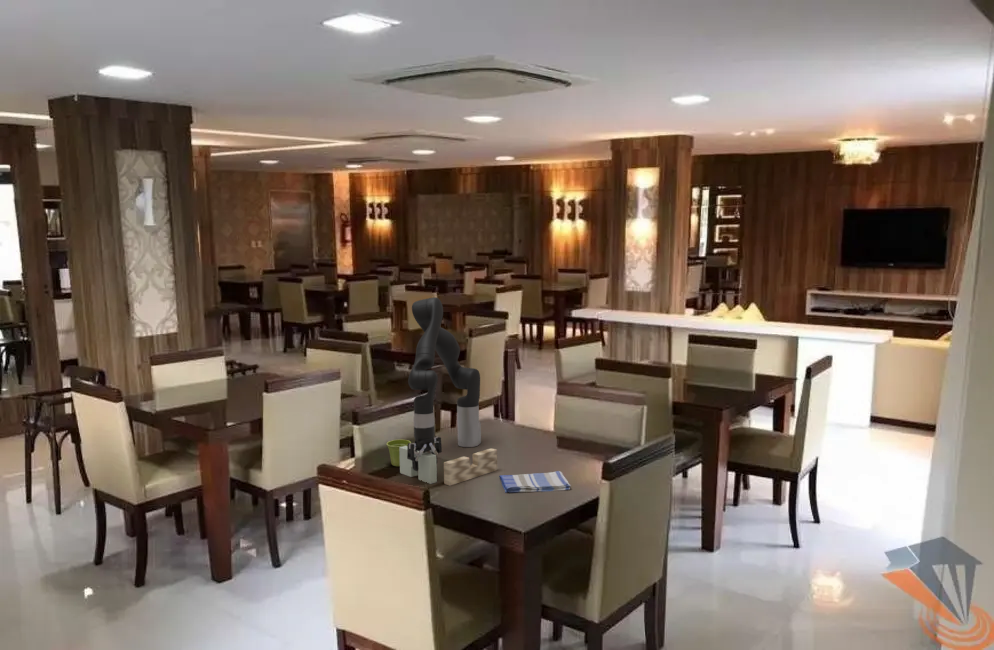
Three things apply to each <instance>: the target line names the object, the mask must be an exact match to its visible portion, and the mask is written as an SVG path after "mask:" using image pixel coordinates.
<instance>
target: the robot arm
mask: <svg viewBox="0 0 994 650" xmlns="http://www.w3.org/2000/svg"><path fill="white" fill-rule="evenodd" d="M411 312H412V316H413V318H414V320H415V321H416V323H417V324H418V326H419V327H420V328H421V329H422V331H423V332H424V333H422V335H421V337H420V338H419V340H418V342H417V345H416V349H415V350H416V352H415V358H414V363H413V366H412V368H411V371H410V372H409V374H408V379H407V383H408V386H409V388H410V389H411V390H415V391H419V390H420V391H423V390H424V391H426V390H427V393H425V394H422V395H418V396H415V397H414V399H413V438H414V442H411V443H408V447H407V459H409V460H412V468H413V470H415V471H418V470H419V468H418V459H419V457H420V456H421V455H422V453H425V452H427V453H431V454H434V455H436V465H438V455H439V454H441V453H442V452H443V451H442V450H443V449H442V448H443V447H442V438H441V437H440V436H436V435H435V434H436V433H435V431H436V430H435V413H434V399H435V393H436V389H437V386H438V381H439V377H438V374H437V372H436V371H435V370H431V368H433V367H434V365H435V359H436V358H435V356H436V354H437V355H438V356H439V358H440V359H441V362H442V363H443V365H444V367H445V368H446V370H447V373H448V376H449V378H450V380H451V383H452V384H453V386H454V387H455V388H456V389H460V390H466V391H467V392H466V395H463V396H461V397H459V398H457V401H456V413H457V415H456V417H457V446H459V447H463V448H473V447H477V446H479V445H480V444H482V430H481V429H482V428H481V427H482V424H481V421H480V411H479V410H480V409H479V408H480V407H479V403H480V396H481V392H480V391H481V374H480V371H479V370H478V368H472V367H463V366H461V365H460V363H459V361H458V359H459V356H460V352H461V347H460V344H459V342H458V341H457V339H456V337H455V336H454V334H453V333H452V332H450V331H449V330H447V329H445V328H443V327H441V326H442V321H443V315H444V306H443V303H442V301H441V299H440V298H438V297H429V298H422V299H419V300H416V301H414V302H413V303H412V305H411ZM414 449H415V450H414ZM417 451H419V452H417Z"/></svg>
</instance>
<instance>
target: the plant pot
mask: <svg viewBox="0 0 994 650" xmlns="http://www.w3.org/2000/svg"><path fill="white" fill-rule="evenodd" d="M408 443H412V441H410V440H409V439H408V440H407V439H393V440H389V441H387V442H386V446H387V449H388V451H389V457H390V463H391V465H392V466H394V467H400V452H399V447H403V446H408Z"/></svg>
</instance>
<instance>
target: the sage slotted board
mask: <svg viewBox="0 0 994 650" xmlns="http://www.w3.org/2000/svg"><path fill="white" fill-rule="evenodd" d="M407 447H408V446H403V447H399V452H400V466H399V473H400V474H402V475H405V476H407V477H410V478H413V477H417V476H418V481H421V480H422V482H424V483H426V482H427V484H429V485H431V484H435V483H437V482H438V481H437V480H438V478H437V477H438V474H437V473H438V471H437V467H438V466H437V465H438V464H437V465H436V455H434V454H431V452H425V453H422V455H421V456H420V457H419V459H418V468H419V470H418V471H415V470H413V468H412V460H409V459H407ZM414 450H415V449H414ZM417 452H419V451H417Z"/></svg>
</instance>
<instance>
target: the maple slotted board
mask: <svg viewBox="0 0 994 650" xmlns="http://www.w3.org/2000/svg"><path fill="white" fill-rule="evenodd" d="M471 456H472V463H471V461H470V457H467V456H460V457H458V458H455V459H450V460H447V461H444V462H443V483H444V485H447V486H454V485H457V484H458V483H462V482H465V481H468V480H469V481H470V480H471V479H475V478H478V477H480V476H485V475H487V474H489V473H493V472H497V471H498V449H496V448H487V449H484V450H481V451H478V452H475V453H472V455H471Z"/></svg>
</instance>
